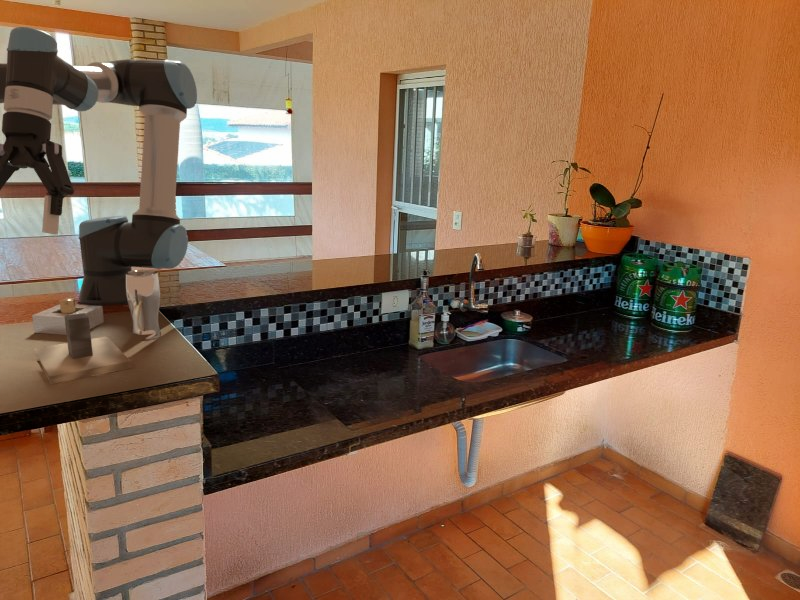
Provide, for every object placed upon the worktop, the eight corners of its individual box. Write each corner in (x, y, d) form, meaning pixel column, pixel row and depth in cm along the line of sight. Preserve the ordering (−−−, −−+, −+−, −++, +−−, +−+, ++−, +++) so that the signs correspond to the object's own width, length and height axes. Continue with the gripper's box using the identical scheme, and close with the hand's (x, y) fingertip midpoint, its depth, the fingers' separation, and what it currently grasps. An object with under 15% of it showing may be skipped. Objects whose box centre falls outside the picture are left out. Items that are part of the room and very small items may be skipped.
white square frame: (63, 319, 140) (61, 303, 139) (103, 322, 139) (102, 305, 138) (34, 332, 130) (32, 315, 129) (77, 335, 129) (75, 318, 128)
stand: (84, 327, 140) (80, 294, 137) (91, 334, 134) (87, 301, 132) (50, 332, 135) (46, 298, 133) (56, 340, 130) (52, 305, 128)
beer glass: (168, 337, 135) (164, 273, 131) (138, 343, 130) (132, 277, 126) (154, 330, 139) (150, 268, 135) (124, 336, 134) (119, 272, 130)
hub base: (107, 342, 130) (103, 301, 127) (131, 368, 116) (127, 322, 114) (33, 355, 121) (27, 311, 119) (50, 384, 108) (44, 334, 105)
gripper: (-46, 110, 107) (-55, 227, 106) (68, 108, 101) (59, 231, 101) (-9, 124, 114) (-17, 233, 114) (100, 122, 108) (92, 237, 108)
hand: (19, 232), depth 107 cm, fingers open, 13 cm apart
